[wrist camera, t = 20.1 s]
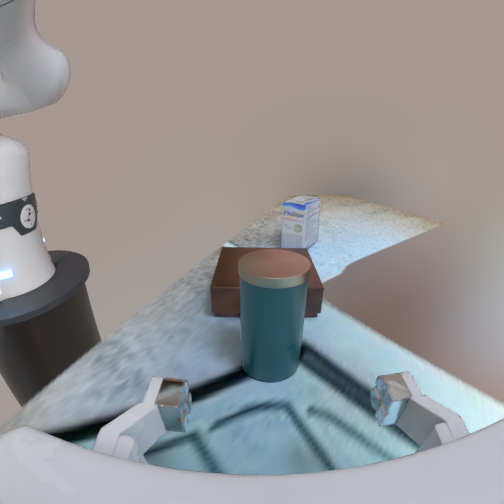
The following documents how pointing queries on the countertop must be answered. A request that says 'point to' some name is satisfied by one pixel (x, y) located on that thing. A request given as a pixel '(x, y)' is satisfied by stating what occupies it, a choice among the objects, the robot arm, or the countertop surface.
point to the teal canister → (272, 312)
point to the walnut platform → (228, 283)
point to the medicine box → (300, 222)
